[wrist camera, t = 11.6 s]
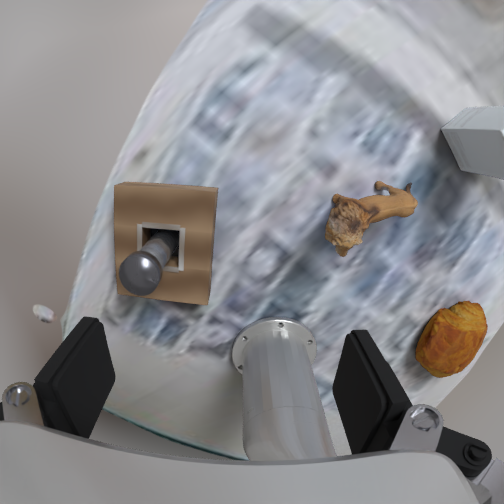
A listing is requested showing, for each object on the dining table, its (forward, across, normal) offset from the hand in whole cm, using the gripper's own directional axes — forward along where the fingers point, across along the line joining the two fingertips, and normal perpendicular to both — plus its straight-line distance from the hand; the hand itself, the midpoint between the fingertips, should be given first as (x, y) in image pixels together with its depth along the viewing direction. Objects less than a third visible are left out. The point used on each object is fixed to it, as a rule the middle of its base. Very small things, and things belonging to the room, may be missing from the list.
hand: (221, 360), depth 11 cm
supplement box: (+28, -32, -14) cm, 45 cm away
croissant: (+28, -38, +19) cm, 51 cm away
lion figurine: (+28, -16, -2) cm, 32 cm away
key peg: (+28, +9, +4) cm, 30 cm away
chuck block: (+28, +9, +4) cm, 30 cm away
